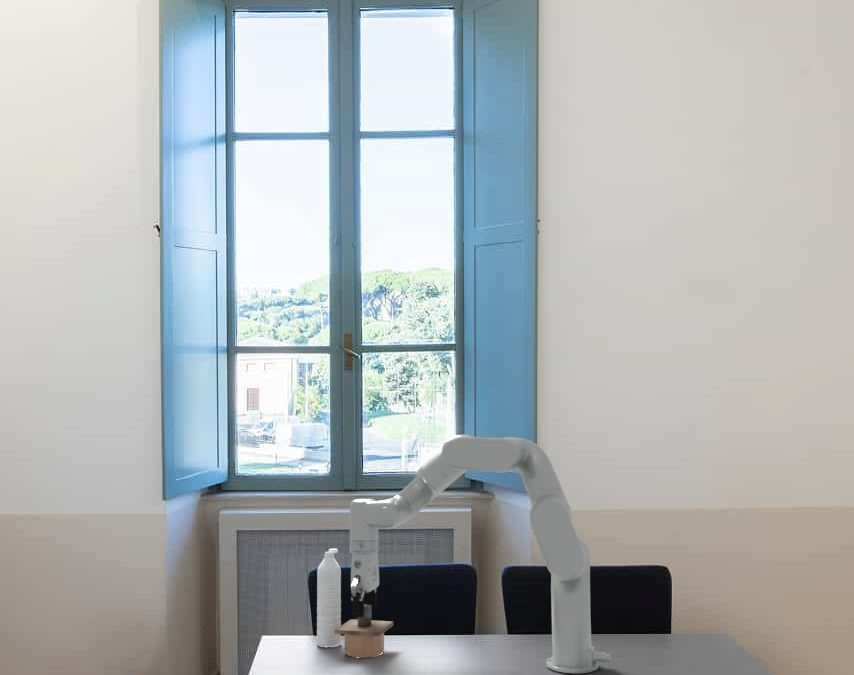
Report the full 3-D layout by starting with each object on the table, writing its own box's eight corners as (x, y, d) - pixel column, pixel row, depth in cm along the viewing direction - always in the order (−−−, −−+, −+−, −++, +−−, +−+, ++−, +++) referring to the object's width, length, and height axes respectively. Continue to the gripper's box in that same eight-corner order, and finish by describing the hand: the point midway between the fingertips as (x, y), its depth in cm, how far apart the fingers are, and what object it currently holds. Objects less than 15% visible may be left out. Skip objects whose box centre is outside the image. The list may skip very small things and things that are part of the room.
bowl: (388, 649, 223) (388, 625, 224) (376, 659, 214) (376, 635, 214) (352, 646, 226) (352, 623, 226) (339, 656, 216) (339, 632, 217)
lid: (393, 625, 224) (393, 602, 225) (378, 636, 213) (378, 612, 214) (351, 622, 228) (351, 600, 228) (334, 633, 216) (334, 609, 217)
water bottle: (337, 649, 224) (337, 553, 226) (313, 648, 225) (314, 553, 227) (345, 640, 232) (345, 548, 235) (323, 639, 233) (323, 548, 236)
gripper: (366, 551, 213) (366, 620, 212) (387, 542, 230) (387, 606, 228) (339, 550, 215) (338, 619, 213) (361, 541, 232) (361, 605, 230)
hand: (364, 612), depth 221 cm, fingers open, 9 cm apart
